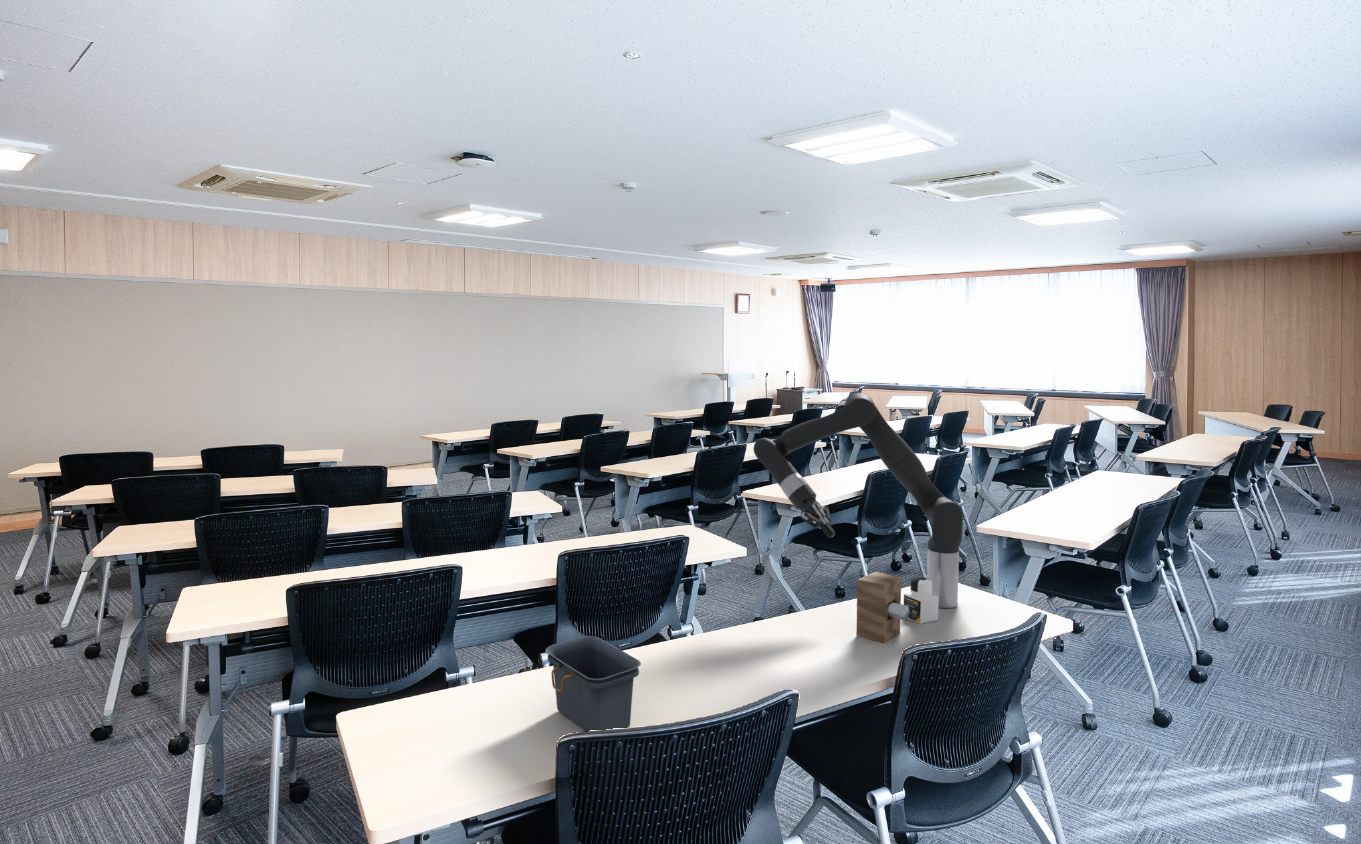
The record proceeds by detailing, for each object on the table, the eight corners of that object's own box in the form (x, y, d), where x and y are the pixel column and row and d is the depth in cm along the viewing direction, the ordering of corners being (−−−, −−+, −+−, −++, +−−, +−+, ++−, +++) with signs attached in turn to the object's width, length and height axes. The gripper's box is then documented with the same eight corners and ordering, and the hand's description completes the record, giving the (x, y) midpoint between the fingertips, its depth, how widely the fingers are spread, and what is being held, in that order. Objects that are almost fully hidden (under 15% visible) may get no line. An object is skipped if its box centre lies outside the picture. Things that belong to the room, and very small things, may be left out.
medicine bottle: (902, 616, 222) (903, 577, 221) (921, 613, 225) (922, 574, 224) (919, 624, 216) (920, 583, 215) (938, 620, 219) (939, 580, 218)
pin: (867, 610, 213) (867, 589, 213) (910, 620, 204) (911, 599, 204) (856, 615, 209) (856, 594, 208) (900, 626, 200) (900, 604, 199)
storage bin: (648, 728, 156) (648, 662, 154) (585, 753, 146) (584, 683, 145) (592, 693, 172) (591, 633, 171) (532, 714, 162) (531, 650, 161)
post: (874, 626, 214) (875, 571, 213) (900, 633, 209) (901, 577, 208) (856, 635, 207) (857, 579, 206) (882, 643, 202) (883, 585, 200)
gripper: (792, 486, 222) (828, 532, 215) (816, 480, 232) (851, 524, 225) (778, 501, 226) (812, 547, 219) (802, 495, 236) (836, 539, 229)
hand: (832, 536), depth 222 cm, fingers closed
